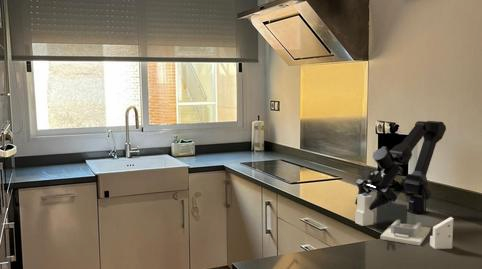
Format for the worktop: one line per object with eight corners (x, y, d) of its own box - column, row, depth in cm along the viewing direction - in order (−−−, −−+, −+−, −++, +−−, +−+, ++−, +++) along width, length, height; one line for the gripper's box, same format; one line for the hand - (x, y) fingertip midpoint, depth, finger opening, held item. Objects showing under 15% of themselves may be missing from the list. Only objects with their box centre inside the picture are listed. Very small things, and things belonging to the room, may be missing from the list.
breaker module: (365, 221, 187) (366, 191, 186) (373, 224, 183) (374, 193, 182) (355, 222, 185) (355, 192, 184) (362, 226, 181) (363, 195, 180)
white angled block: (465, 240, 157) (453, 218, 156) (438, 256, 157) (426, 233, 156) (460, 237, 161) (448, 215, 160) (433, 252, 161) (421, 230, 160)
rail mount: (393, 225, 182) (394, 214, 181) (430, 230, 175) (430, 220, 175) (380, 238, 167) (380, 227, 166) (419, 245, 160) (420, 233, 159)
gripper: (359, 158, 192) (336, 188, 189) (391, 166, 175) (366, 199, 172) (375, 176, 196) (352, 205, 193) (408, 185, 179) (383, 218, 176)
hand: (362, 206), depth 183 cm, fingers open, 8 cm apart
